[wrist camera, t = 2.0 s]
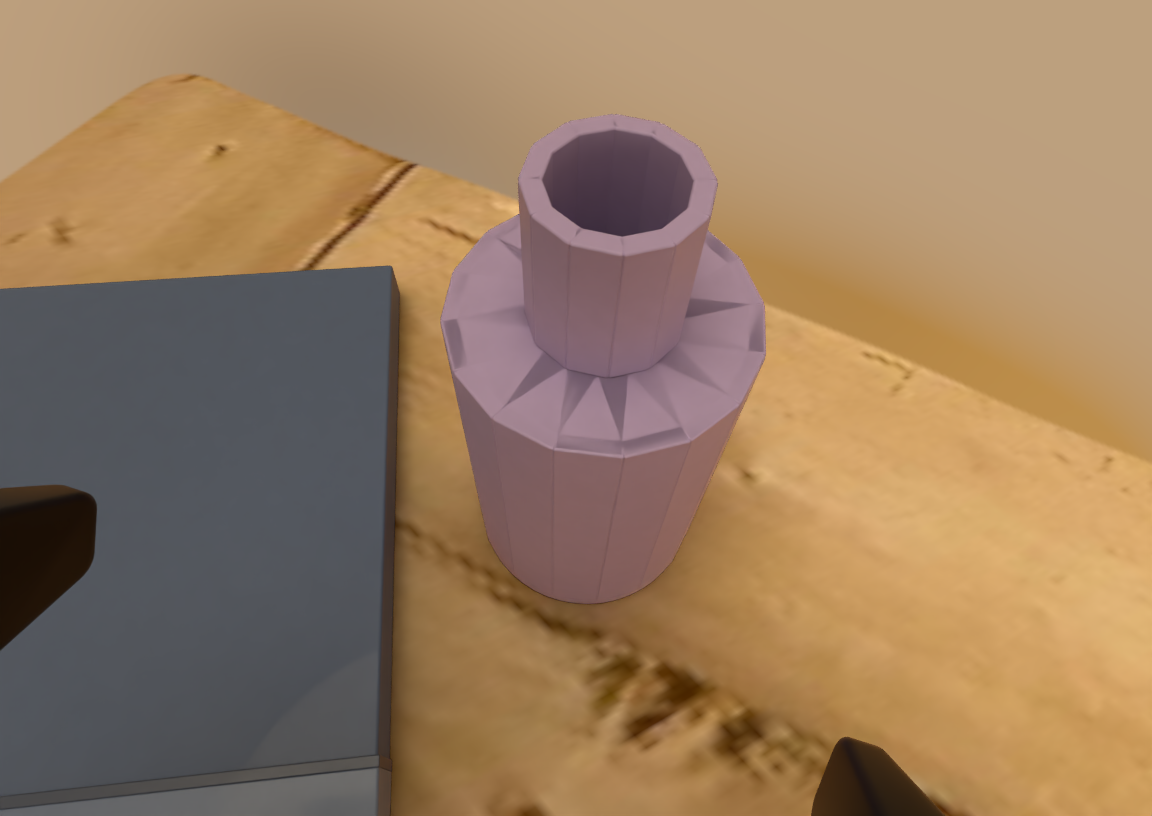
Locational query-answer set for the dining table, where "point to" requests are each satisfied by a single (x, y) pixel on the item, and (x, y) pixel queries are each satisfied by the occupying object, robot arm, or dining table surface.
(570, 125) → the vase
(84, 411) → the grey stepped slab
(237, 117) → the dining table surface
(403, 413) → the dining table surface
